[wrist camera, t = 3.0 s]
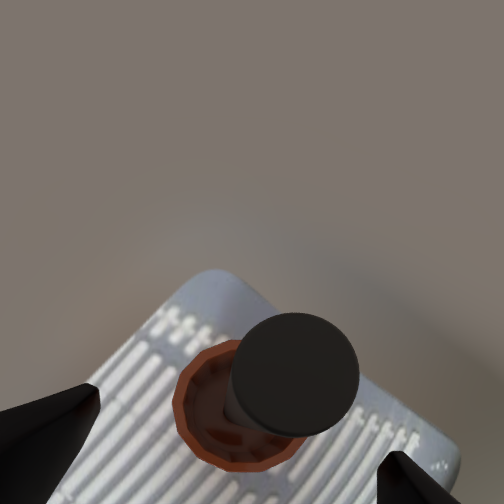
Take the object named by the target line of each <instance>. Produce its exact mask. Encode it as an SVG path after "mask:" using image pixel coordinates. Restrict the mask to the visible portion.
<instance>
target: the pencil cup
mask: <svg viewBox="0 0 504 504" xmlns="http://www.w3.org/2000/svg"><path fill="white" fill-rule="evenodd" d="M241 341H242V340H228V341H226V342H223V343H221V344H218V345H216V346H213V347H211V348H208V349H205V350H203V351H202V352H200V353H199V354H198V355H197V356H196V357H195V358H194V359H193V360H192V361H191V363H190V364H189V365H188V366H187V367H186V368H185V369H184V370H183V371H182V372H181V374H180V376H179V379H178V383H177V386H176V389H175V393H174V396H173V399H172V407H173V412H174V417H175V422H176V427H177V432H178V434H179V435H180V437H181V438H182V439H183V440H184V442H185V443H186V444H187V445H188V447H189V448H190V449H191V450H192V452H193V453H194V454H195V455H196V456H197V457H198V458H199V459H201V460H203V461H205V462H207V463H209V464H211V465H213V466H215V467H218V468H220V469H222V470H224V471H226V472H261V471H262V472H263V471H265V470H267V469H269V468H272V467H274V466H276V465H278V464H280V463H282V462H284V461H286V460H288V459H290V458H291V457H292V456H293V455H294V454H295V453H296V451H297V450H298V449H299V448H300V446H301V445H302V444H303V443H304V441H305V440H306V439H307V437H304V438H287V437H282V436H277V435H273V434H269V433H265V432H261V431H257V430H254V429H250V428H247V427H243V426H240V425H237V424H234V423H232V422H230V421H229V420H228V419H227V418H226V416H225V414H224V403H225V397H226V392H227V387H228V382H229V377H230V372H231V367H232V362H233V358H234V355H235V352H236V350H237V348H238V346H239V344H240V342H241Z"/></svg>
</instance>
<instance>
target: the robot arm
mask: <svg viewBox="0 0 504 504" xmlns="http://www.w3.org/2000/svg"><path fill="white" fill-rule="evenodd" d="M100 409H101V404H100V394H99V389H98V388H97V387H95V386H93V385H91V384H89V383H84V384H81V385H79V386H76V387H73V388H70V389H68V390H65V391H62V392H59V393H56V394H53V395H50V396H48V397H44V398H42V399H39V400H36V401H32V402H29V403H26V404H23V405H20V406H17V407H14V408H10V409H7V410H4V411H1V412H0V504H46V503H47V501H48V500H49V498H50V497H51V495H52V493H53V492H54V490H55V489H56V487H57V486H58V484H59V483H60V481H61V479H62V478H63V476H64V475H65V473H66V472H67V470H68V469H69V467H70V466H71V464H72V463H73V461H74V460H75V458H76V456H77V455H78V453H79V452H80V450H81V449H82V447H83V445H84V443H85V441H86V439H87V437H88V435H89V433H90V431H91V428H92V426H93V424H94V422H95V420H96V418H97V416H98V414H99V412H100ZM377 504H461V503H460V502H458V501H457V500H456V499H455V498H454V497H453V496H451V495H450V494H449V493H448V492H447V491H446V490H445V489H444V488H443V487H441V486H440V485H439V484H438V483H437V482H436V481H435V480H434V479H433V478H431V477H430V476H429V475H428V474H427V473H426V472H425V471H424V470H423V469H422V468H420V467H419V466H418V465H417V464H416V463H415V462H414V461H413V460H412V459H411V458H410V457H409V456H407V455H406V454H405V453H404V452H403V451H391V452H390V453H389V454H388V455H387V456H386V458H385V459H384V460H383V461H382V463H381V464H380V465H379V467H378V469H377Z"/></svg>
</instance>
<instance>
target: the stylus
mask: <svg viewBox="0 0 504 504" xmlns="http://www.w3.org/2000/svg"><path fill="white" fill-rule="evenodd" d="M359 374H360V373H359V364H358V360H357V356H356V354H355V351H354V349H353V347H352V345H351V343H350V342H349V340H348V339H347V337H346V336H345V335H344V334H343V333H342V332H341V331H340V330H339V329H338V328H337V327H336V326H334V325H333V324H331V323H330V322H328V321H326V320H324V319H322V318H320V317H317V316H314V315H310V314H305V313H284V314H280V315H275V316H273V317H270V318H268V319H266V320H264V321H262V322H260V323H259V324H257V325H256V326H255V327H253V328H252V329H251V330H250V331H249V332H248V333H247V334H246V336H245V337H244V338H243V339H242V341H241V342H240V344H239V346H238V348H237V350H236V352H235V355H234V358H233V362H232V367H231V372H230V377H229V382H228V387H227V392H226V397H225V403H224V414H225V416H226V418H227V419H228V420H229V421H230V422H232V423H234V424H237V425H240V426H243V427H247V428H250V429H254V430H257V431H261V432H265V433H269V434H273V435H277V436H282V437H287V438H304V437H309V436H314V435H317V434H319V433H322V432H324V431H326V430H328V429H330V428H331V427H332V426H334V425H335V424H337V423H338V422H339V421H340V420H341V419H342V418H343V417H344V416H345V414H346V413H347V412H348V410H349V409H350V407H351V406H352V404H353V402H354V399H355V397H356V394H357V391H358V386H359Z"/></svg>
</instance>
